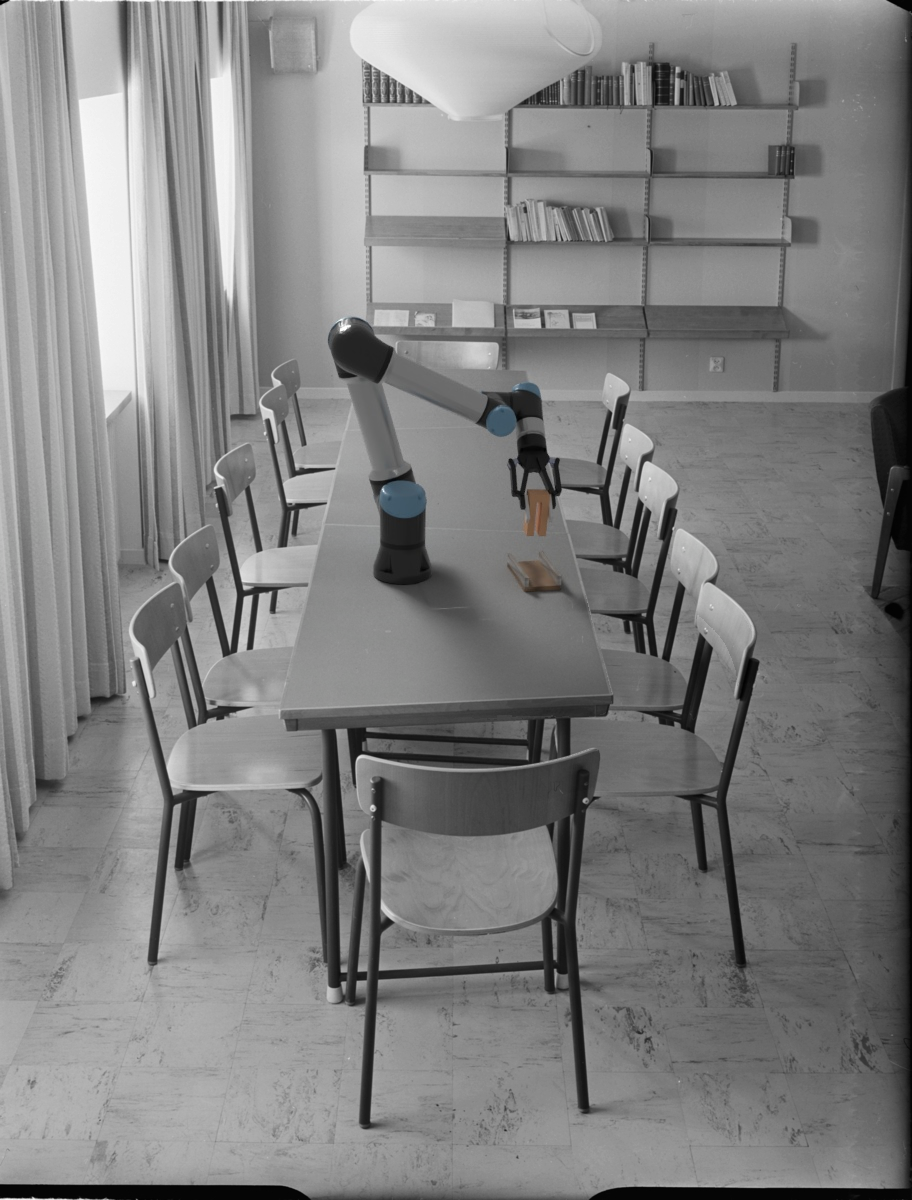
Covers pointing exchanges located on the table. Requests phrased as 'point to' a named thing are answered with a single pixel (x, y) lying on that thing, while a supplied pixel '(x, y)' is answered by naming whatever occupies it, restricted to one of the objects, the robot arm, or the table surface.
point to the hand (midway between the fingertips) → (539, 520)
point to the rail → (535, 573)
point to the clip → (542, 512)
